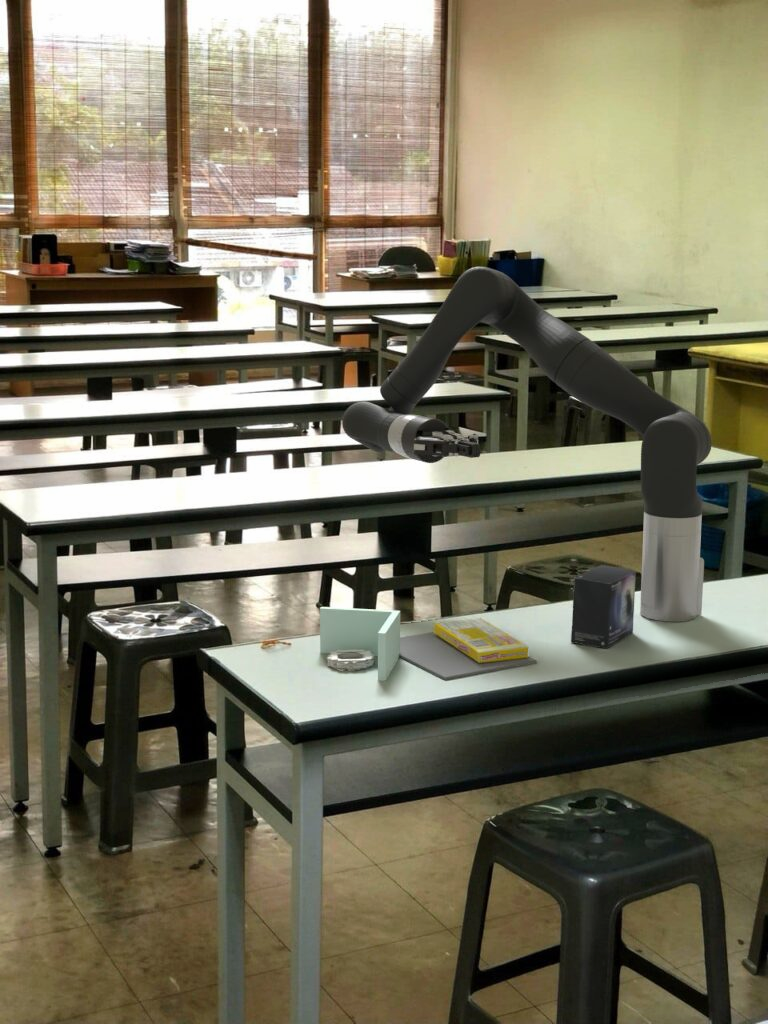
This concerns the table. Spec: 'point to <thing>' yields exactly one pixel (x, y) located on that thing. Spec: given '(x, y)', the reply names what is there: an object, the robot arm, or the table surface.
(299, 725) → the table surface
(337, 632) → the right angle wall
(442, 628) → the candy box
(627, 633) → the small box
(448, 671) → the mat
